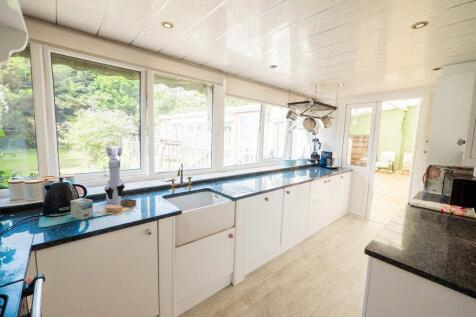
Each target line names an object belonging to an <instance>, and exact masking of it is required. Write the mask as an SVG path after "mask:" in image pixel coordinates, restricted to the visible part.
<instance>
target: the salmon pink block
mask: <svg viewBox="0 0 476 317" xmlns="http://www.w3.org/2000/svg"><path fill="white" fill-rule="evenodd" d="M123 207H124V206H121V205H119V204H117V205H116V204H110V205H107V206H105V207H104V209H105V210H108V211H112V212H118V211H120V210H122V209H123Z"/></svg>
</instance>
